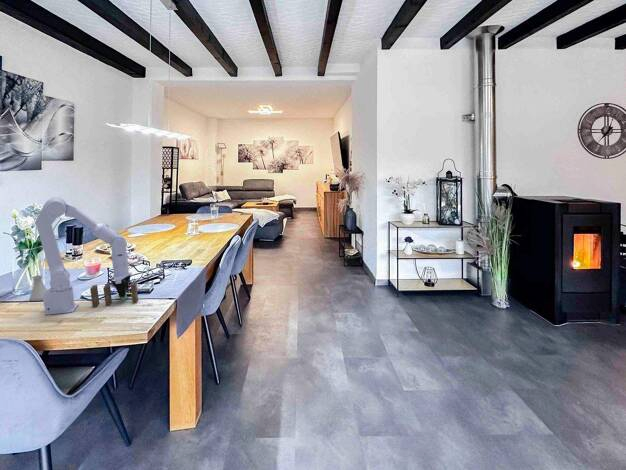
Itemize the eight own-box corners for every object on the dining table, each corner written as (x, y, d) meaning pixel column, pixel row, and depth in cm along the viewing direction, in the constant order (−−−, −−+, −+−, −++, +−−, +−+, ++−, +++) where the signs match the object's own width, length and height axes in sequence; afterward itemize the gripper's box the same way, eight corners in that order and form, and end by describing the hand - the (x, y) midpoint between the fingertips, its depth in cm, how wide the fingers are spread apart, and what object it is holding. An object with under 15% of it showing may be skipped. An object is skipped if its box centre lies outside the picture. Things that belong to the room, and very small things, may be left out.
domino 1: (92, 307, 149) (90, 288, 147) (95, 303, 153) (93, 285, 151) (96, 307, 149) (94, 288, 148) (99, 303, 153) (97, 285, 151)
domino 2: (105, 306, 150) (103, 287, 148) (108, 302, 154) (105, 284, 152) (109, 305, 150) (107, 287, 149) (112, 302, 154) (109, 283, 153)
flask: (39, 302, 154) (36, 279, 152) (25, 301, 156) (21, 278, 154) (55, 296, 161) (51, 274, 159) (41, 295, 163) (37, 273, 161)
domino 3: (121, 301, 156) (119, 282, 154) (123, 297, 160) (121, 279, 158) (125, 300, 156) (123, 282, 154) (126, 297, 160) (125, 279, 158)
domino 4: (132, 303, 153) (130, 285, 151) (134, 299, 157) (132, 282, 155) (136, 303, 153) (134, 284, 152) (138, 299, 157) (136, 281, 156)
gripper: (127, 267, 149) (130, 299, 152) (133, 258, 163) (136, 288, 165) (108, 269, 147) (111, 301, 150) (115, 259, 161) (119, 289, 163)
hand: (123, 294), depth 157 cm, fingers open, 5 cm apart
